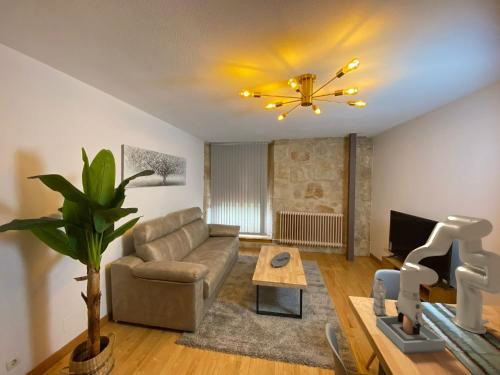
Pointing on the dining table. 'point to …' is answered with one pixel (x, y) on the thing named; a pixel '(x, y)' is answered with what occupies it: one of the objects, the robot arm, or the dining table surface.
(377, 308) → the plastic bottle
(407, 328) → the peg
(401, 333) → the grey socket tray
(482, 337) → the dining table surface
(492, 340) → the dining table surface
